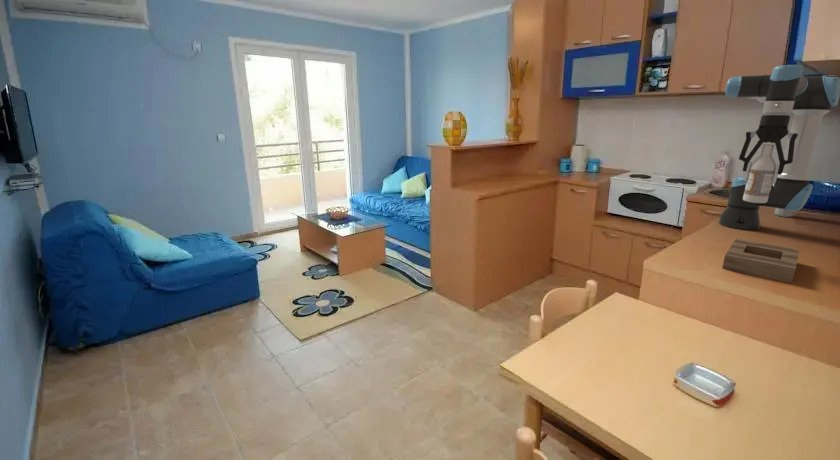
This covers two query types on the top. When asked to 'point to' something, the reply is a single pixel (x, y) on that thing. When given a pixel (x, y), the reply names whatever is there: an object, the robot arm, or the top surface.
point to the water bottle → (784, 212)
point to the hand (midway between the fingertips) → (759, 181)
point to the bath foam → (760, 177)
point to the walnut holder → (762, 260)
